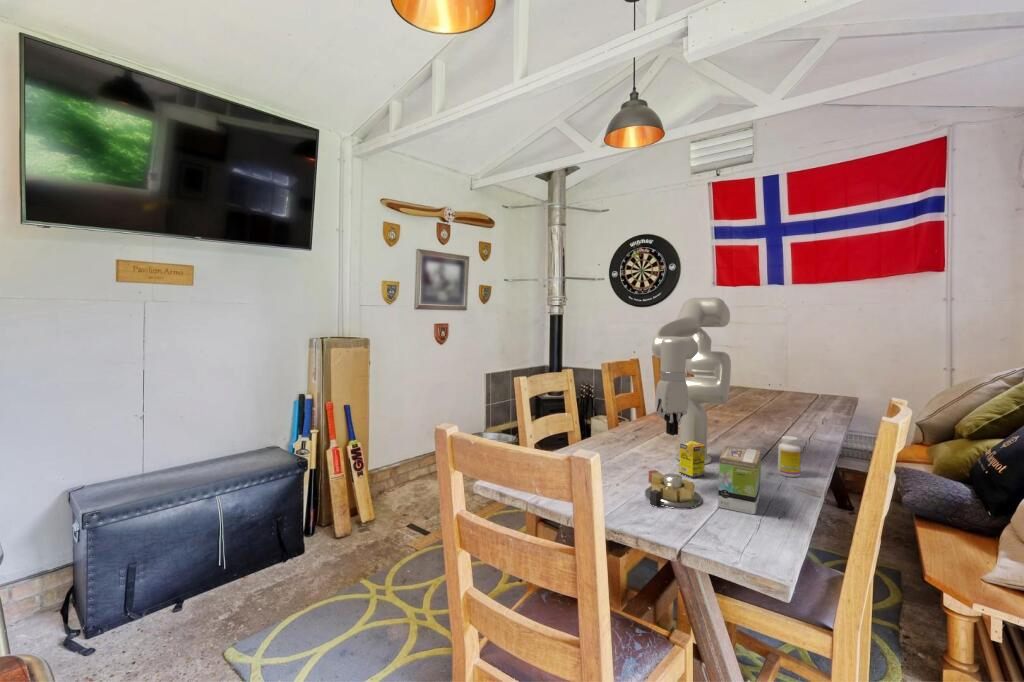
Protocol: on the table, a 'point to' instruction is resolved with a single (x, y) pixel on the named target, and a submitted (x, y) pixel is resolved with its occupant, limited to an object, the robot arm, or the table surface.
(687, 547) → the table surface
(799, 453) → the supplement bottle
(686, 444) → the supplement box
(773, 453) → the table surface
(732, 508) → the tea box
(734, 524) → the table surface
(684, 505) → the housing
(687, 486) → the tan block cluster
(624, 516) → the table surface
